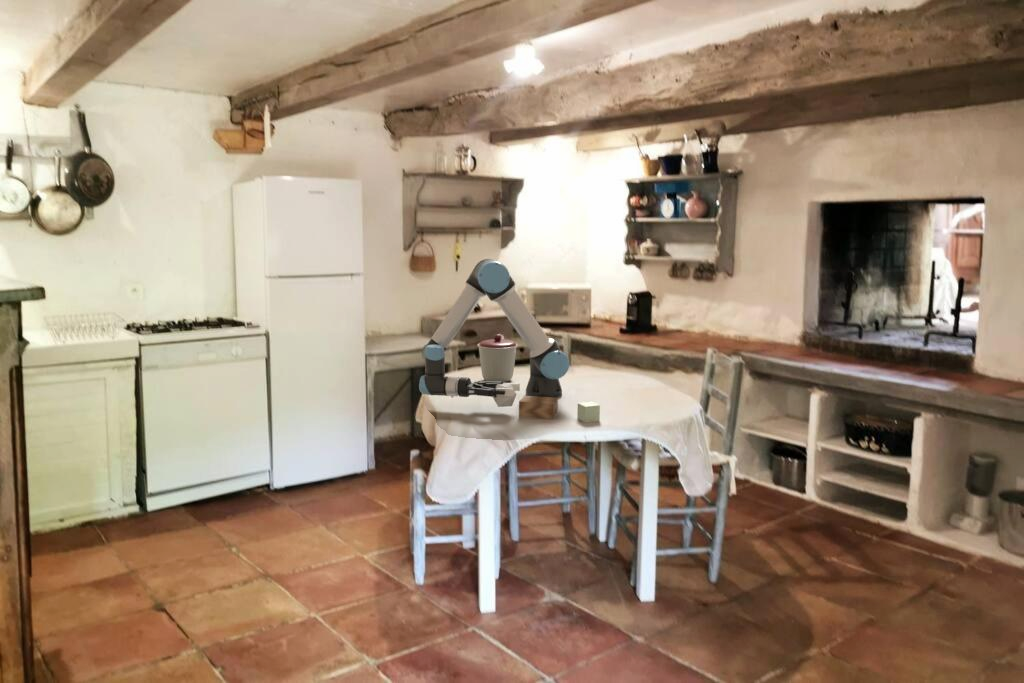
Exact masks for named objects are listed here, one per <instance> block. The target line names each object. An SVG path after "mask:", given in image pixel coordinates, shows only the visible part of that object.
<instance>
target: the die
mask: <svg viewBox="0 0 1024 683" xmlns="http://www.w3.org/2000/svg"><path fill="white" fill-rule="evenodd" d="M497 388H507V389H513V387H512V385H511V384H497V386H496V390H497ZM492 398H493V401H494V402H495V404H496V405H497V407H498V408H499V407H500V408H501V407H503V408H504V407H505V408H506V407H513V405H514V402H515V400H516V398H517V392H516V391H515V390H514V396H498V395H497V394H496V398H494V396H493V397H492Z"/></svg>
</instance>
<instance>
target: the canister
mask: <svg viewBox="0 0 1024 683" xmlns="http://www.w3.org/2000/svg"><path fill="white" fill-rule="evenodd" d="M518 344H519V343H517V342H515V341H513V340H510V339H505V338H504V339H503V338H502V335H501V334H494V336H493V339H486V340H483V341H482V340H481V341H480V342H479V343H477V347H478V354H479V362H480V370H481V376H482V378H483V381H503V383H508V382H510V381H511V380H512V379H513V376H514V370H515V364H516V362H515V360H516V354H517V348H518V347H519V345H518Z"/></svg>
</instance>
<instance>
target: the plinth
mask: <svg viewBox="0 0 1024 683" xmlns="http://www.w3.org/2000/svg"><path fill="white" fill-rule="evenodd" d="M558 403H559V397H558V398H553V397H537V396H526V395H523V397H522V398H521V399H520V400H519V401H518V417H519V418H530V419H531V418H532V419H545V420H554V419H555V418H556V416H557V415H558V414H559V412H558V408H559V404H558Z"/></svg>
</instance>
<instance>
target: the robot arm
mask: <svg viewBox="0 0 1024 683" xmlns="http://www.w3.org/2000/svg"><path fill="white" fill-rule="evenodd" d="M459 294H460V295H459V296H458V298H457V299H456V301H454V303H453V305H452V306H451V308H450V309H449V311H448V312H447V314H446V315H445V317H444V318H443V320H442V321H441V323H440V324H439V325H438V328H436V331H435V332H434V333H433V335H432V336H431V338H430V340H429V341H428V343H426V344H425V345H424V346H423V347H422V351H421V356H422V359H423V361H424V367H425V369H424V370H425V373H424V375H421V376H420V379H419V383H418V388H419V392H420V393H421V394H423V395H427V396H428V395H429V396H441V397H442V396H444V397H446V396H447V397H451V399H452V398H454V397H460V398H461V397H462V398H468V397H470V396H480V397H481V396H483V397H492V398H493V396H494V398H496V394H497V395H498V396H514V390H515V392H516V391H517V392H520V391H521V390H520V389H521V388H520V387H521V385H520V383H512V382H503V381H486V380H477V381H474V382H472V380H471V378H470V377H466V376H465V377H464V376H461V377H460V376H446V372H445V371H446V370H445V368H446V367H445V363H446V362H445V356H446V353H445V352H446V351H447V349H448V347H449V346H450V344H451V343H452V342H453V340H454V338H455V337H456V335H457V334H458V333H459V331H460V330H461V328H462V327H463V325H464V324H465V322H466V321H467V319H468V317H469V316H470V315H471V314H472V312H473V310H474V309H475V307H476V306H477V305H478V303H479V301H480V300H481V298H482V297H487V298H488V299H489V300H490V301H491V302H495V303H497V305H498V307H499V308H500V309H501V310H502V313H503V314H504V315H505V316H506V318H507V320H509V322H510V323H511V325H512V327H513V328H514V329H515V331H516V333H518V335H519V336H520V337H521V339H522V341H523V342H524V344H525V345H526V346H527V348H528V349H529V350H530V351H529V379H528V382H527V385H526V388H525V396H537V397H553V398H558V399H559V398H560V397H562V396H563V389H562V386H561V383H560V379H561V378H563V377H564V376H565V375H566V374H567V373H568V371H569V368H570V360H569V357H568V355H567V354H566V353H565V352H564V351H562V348H560V346H559V341H557V340H555V339H554V338H550V337H548V335H547V334H546V333H545V331H544V329H543V328H542V327H541V325H540V324H539V323H538V321H537V319H536V318H535V316H534V315H533V314H532V312H531V311H530V310H529V308H528V306H527V305H526V304H525V303H524V301H523V299H522V298H521V296H520V295H519V293H518V292H517V291H516V282H515V280H514V279H513V278H512V276H511V275H510V272H509V270H508V268H507V267H506V265H504V264H503V262H500V261H498V260H494V259H491V258H485V259H482V260H480V261H478V262H477V263H476V265H475V266H474V268H473V269H472V271H471V273H470V274H469V276H468V278H467V279H466V281H465V287H464V289H462V291H461V293H459ZM497 384H511V385H512V387H513V389H507V388H497V390H496V386H497ZM494 398H493V399H494Z"/></svg>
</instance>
